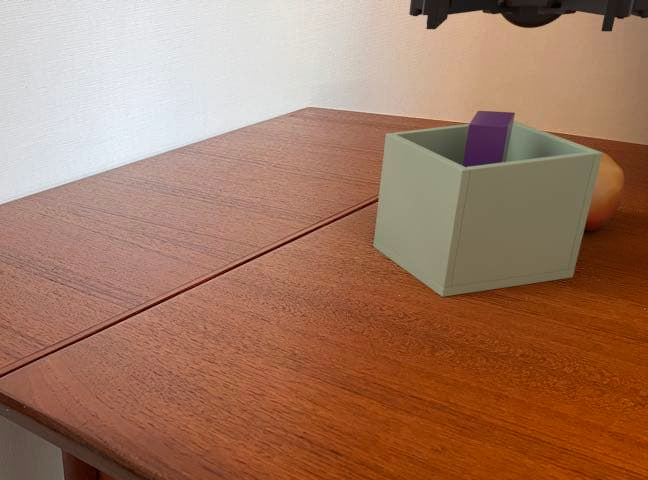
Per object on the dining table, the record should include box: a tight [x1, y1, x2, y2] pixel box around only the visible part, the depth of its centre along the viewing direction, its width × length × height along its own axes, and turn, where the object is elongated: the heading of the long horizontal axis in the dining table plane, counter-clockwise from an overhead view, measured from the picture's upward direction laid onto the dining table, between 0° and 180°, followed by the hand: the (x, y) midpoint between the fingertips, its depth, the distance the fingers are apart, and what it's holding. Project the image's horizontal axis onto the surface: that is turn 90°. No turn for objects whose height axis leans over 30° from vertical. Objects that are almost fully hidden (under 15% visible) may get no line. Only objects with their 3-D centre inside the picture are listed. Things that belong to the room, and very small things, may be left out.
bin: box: [372, 120, 604, 298], centre depth 76 cm, size 12×12×11 cm
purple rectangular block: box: [462, 110, 516, 167], centre depth 75 cm, size 3×5×12 cm, turn 152°
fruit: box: [584, 151, 625, 232], centre depth 84 cm, size 8×8×8 cm
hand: (518, 12), depth 71 cm, fingers open, 13 cm apart
